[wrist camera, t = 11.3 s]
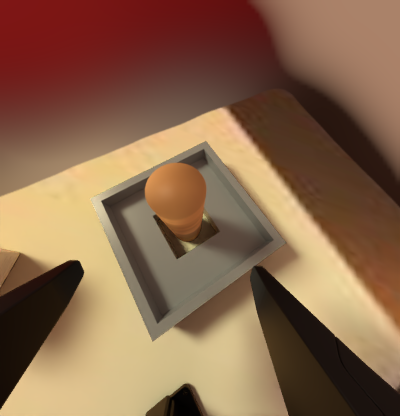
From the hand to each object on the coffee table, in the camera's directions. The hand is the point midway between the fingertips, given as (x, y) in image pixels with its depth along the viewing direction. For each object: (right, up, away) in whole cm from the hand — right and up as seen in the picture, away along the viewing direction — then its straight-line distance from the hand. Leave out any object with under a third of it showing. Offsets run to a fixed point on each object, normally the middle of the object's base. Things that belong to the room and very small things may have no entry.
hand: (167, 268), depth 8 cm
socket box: (0, 0, +14) cm, 14 cm away
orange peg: (0, 0, +14) cm, 14 cm away
